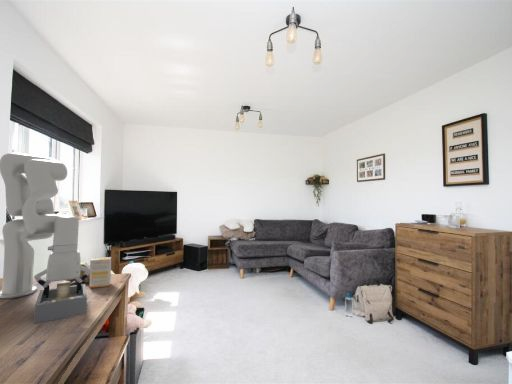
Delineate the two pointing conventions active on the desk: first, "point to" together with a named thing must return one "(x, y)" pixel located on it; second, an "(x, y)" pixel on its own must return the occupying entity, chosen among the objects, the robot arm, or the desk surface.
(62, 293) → the peg
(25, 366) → the desk surface
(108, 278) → the supplement box
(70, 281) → the ceramic sculpture
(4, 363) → the desk surface
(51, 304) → the bore box
